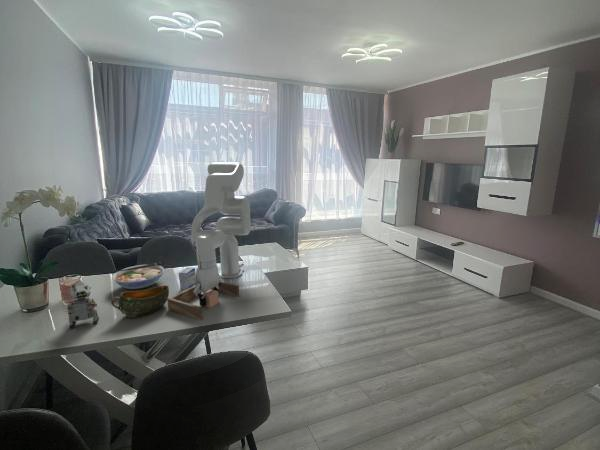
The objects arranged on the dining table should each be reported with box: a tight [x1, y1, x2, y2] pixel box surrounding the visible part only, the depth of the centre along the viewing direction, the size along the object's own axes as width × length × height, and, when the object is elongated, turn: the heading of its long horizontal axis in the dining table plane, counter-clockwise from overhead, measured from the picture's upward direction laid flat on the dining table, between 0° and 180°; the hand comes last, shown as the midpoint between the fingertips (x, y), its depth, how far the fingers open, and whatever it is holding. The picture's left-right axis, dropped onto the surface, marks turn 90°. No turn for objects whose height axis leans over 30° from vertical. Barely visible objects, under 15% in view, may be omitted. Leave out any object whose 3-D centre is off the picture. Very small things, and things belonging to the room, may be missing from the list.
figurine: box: [66, 282, 100, 330], centre depth 123 cm, size 9×12×15 cm
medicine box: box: [178, 266, 196, 291], centre depth 156 cm, size 8×4×9 cm, turn 168°
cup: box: [110, 285, 170, 319], centre depth 132 cm, size 13×20×10 cm, turn 107°
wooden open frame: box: [166, 281, 240, 321], centre depth 140 cm, size 24×18×5 cm
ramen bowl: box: [108, 261, 165, 290], centre depth 157 cm, size 25×23×8 cm
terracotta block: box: [201, 289, 220, 309], centre depth 139 cm, size 6×6×6 cm
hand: (209, 301), depth 139 cm, fingers open, 7 cm apart
